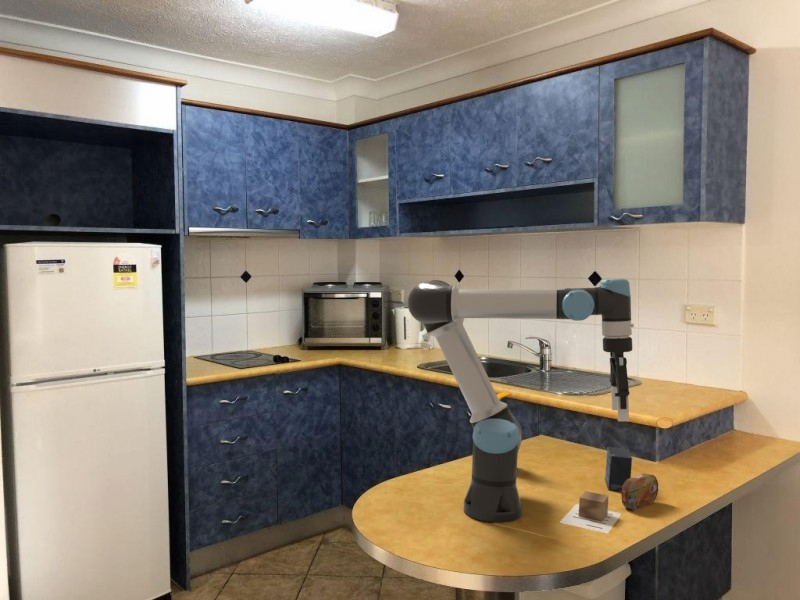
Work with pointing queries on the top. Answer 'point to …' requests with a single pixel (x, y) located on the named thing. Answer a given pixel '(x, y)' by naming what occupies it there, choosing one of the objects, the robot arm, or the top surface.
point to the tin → (639, 491)
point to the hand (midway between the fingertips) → (620, 415)
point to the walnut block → (593, 506)
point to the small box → (617, 468)
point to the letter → (590, 520)
